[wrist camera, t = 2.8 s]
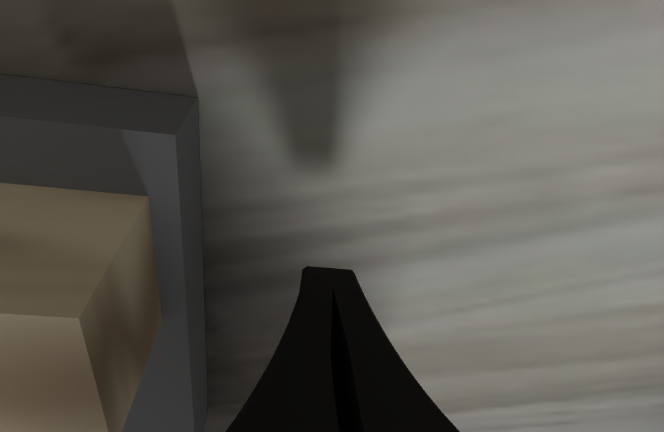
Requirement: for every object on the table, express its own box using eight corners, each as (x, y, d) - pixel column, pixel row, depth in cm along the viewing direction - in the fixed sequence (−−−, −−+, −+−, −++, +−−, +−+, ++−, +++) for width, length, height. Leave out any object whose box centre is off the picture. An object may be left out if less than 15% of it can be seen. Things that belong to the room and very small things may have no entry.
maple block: (162, 320, 13) (114, 452, 10) (4, 310, 13) (-101, 446, 10) (148, 196, 11) (78, 318, 8) (-49, 178, 10) (-216, 300, 7)
